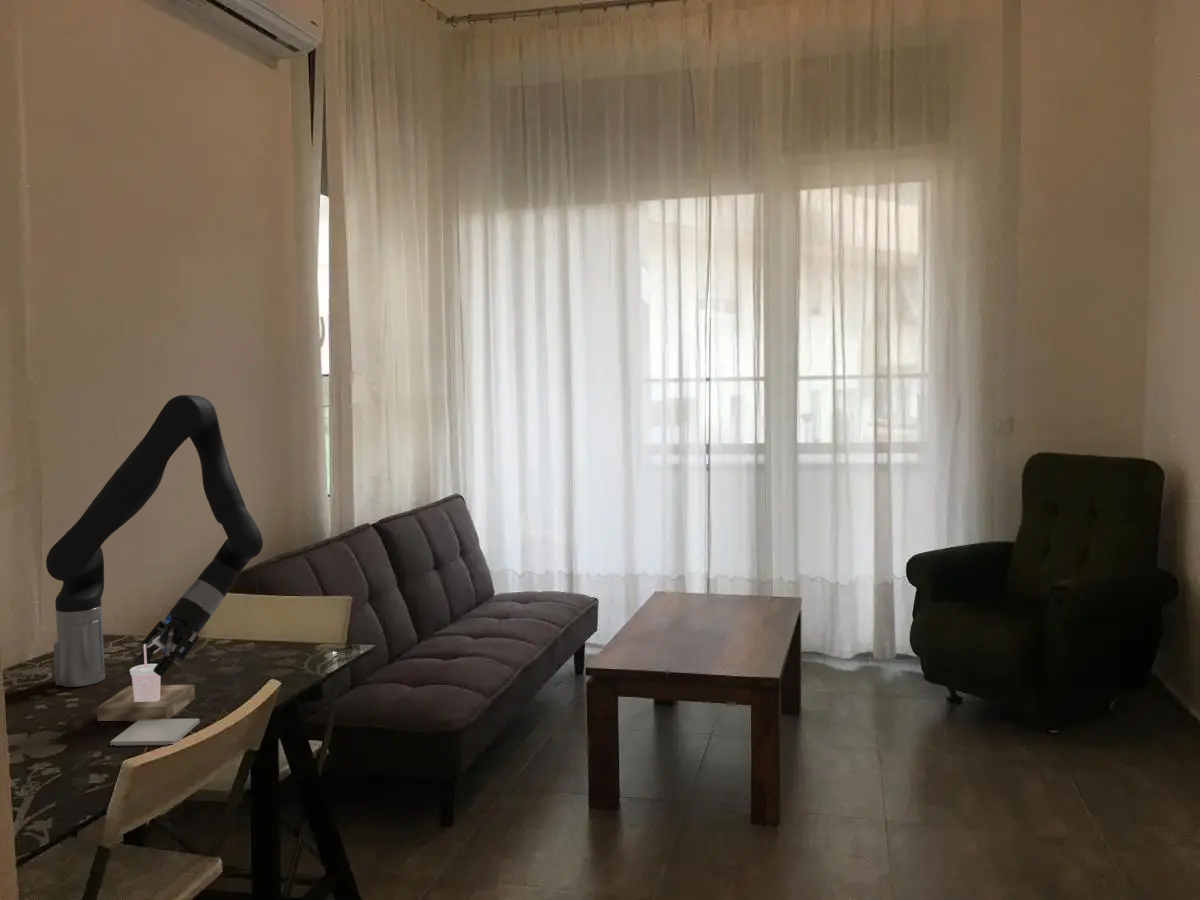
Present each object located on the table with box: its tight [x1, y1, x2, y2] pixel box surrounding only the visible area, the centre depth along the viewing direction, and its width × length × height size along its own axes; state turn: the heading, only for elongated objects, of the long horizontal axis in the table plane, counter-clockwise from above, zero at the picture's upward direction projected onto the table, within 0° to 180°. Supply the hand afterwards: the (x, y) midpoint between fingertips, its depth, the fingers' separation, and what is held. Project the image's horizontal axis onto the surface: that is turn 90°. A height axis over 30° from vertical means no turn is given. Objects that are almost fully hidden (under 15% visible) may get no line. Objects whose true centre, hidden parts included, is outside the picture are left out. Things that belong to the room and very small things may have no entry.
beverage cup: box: [129, 644, 162, 702], centre depth 206 cm, size 6×6×14 cm
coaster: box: [109, 718, 201, 747], centre depth 193 cm, size 12×12×1 cm
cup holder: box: [96, 684, 196, 723], centre depth 207 cm, size 14×14×3 cm
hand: (147, 670), depth 206 cm, fingers open, 8 cm apart
